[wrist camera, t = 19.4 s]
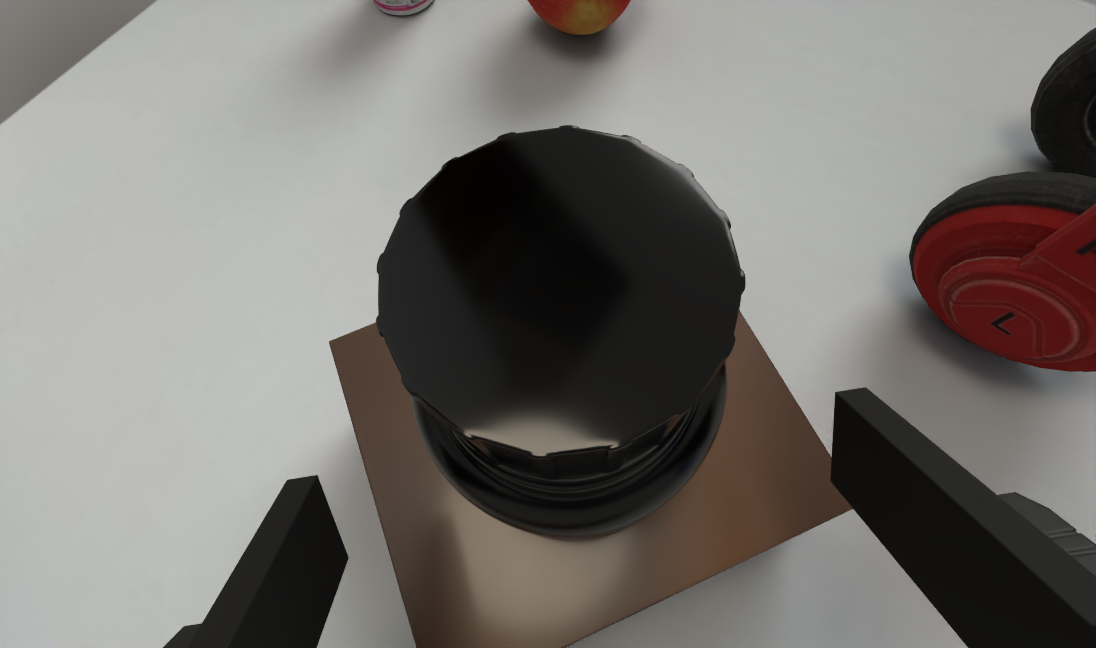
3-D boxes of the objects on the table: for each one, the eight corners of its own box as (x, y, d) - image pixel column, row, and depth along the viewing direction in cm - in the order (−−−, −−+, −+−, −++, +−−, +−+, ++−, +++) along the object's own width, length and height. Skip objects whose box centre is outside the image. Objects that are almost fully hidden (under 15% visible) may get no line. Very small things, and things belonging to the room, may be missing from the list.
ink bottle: (746, 420, 21) (929, 271, 10) (586, 608, 19) (587, 689, 8) (559, 265, 24) (537, 17, 13) (403, 413, 22) (214, 269, 11)
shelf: (469, 673, 23) (433, 710, 18) (377, 381, 29) (328, 341, 23) (800, 515, 25) (861, 504, 19) (656, 265, 30) (672, 201, 25)
